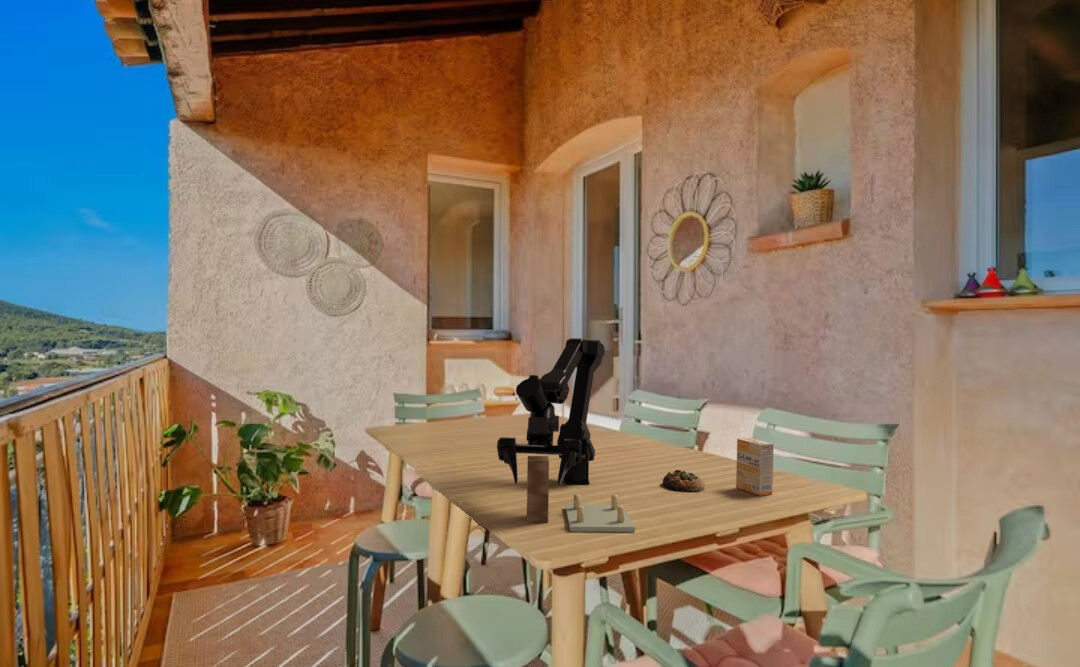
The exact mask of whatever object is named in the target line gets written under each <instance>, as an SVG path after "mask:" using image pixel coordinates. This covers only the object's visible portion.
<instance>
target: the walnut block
mask: <svg viewBox="0 0 1080 667" xmlns="http://www.w3.org/2000/svg"><path fill="white" fill-rule="evenodd" d="M526 479H527V482H526V523H527V524H528V523H530V524H531V523H532V524H533V523H537V524H541V523H542V524H549V490H550V488H549V486H550V485H549V482H550V459H549V455H547V456H546V455H527V476H526Z"/></svg>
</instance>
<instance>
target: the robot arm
mask: <svg viewBox="0 0 1080 667" xmlns="http://www.w3.org/2000/svg"><path fill="white" fill-rule="evenodd" d="M605 351H606V350H605V345H604V344H603V343H602V342H601V341H600V340H599V339H585V338H579V337H576V338H575V337H574V338H568V339H567V340H566V341H565V347H564V348H563V350H562V352H561V354H560V355H559V357H558V359H557V361H556V362H555V364H554V366H553V367H552V368H551V370H550V371H548V372H547V373H544V374H543V375H542V376H541V377H539V376H538V375H537V374H534V375H532V374H529V376H528V378H526V379H523V380H522V381H520V382H519V383H518V384H517V386H516V388H515V392H516V393H515V394H516V395H517V397H518V399H519V400H520V402H521V404H522V406H523V407H524V409H525V410H526V411H527V412H530V414H529V417H528V420H527V429H526V441H527V443H517V441H516V440H517V438H516V437H503V436H502V437H499V439H497V442H496V443H497V444H496V449H497V451H496V452H497V457H498V460H500V461H501V462H502V461H503V463H504V464H506V465H508V466H509V468H510V470H511V473H512V476H513V477H512V478H513V481H514V485H517V484H518V473H519V472H518V459H517V456H518V454H535V455H544V456H546V455H547V456H549V455H551V456H552V455H553V456H558V458H559V459H560V463H559V464H560V465H559V471H558V475H557V476H558V477H557V486H561V484H562V482H563V481H564V484H566V485H590V484H591V483H590V480H589V477H590V474H589V472H590V471H589V470H590V469H589V466H590V463H589V462H593V461H594V460H595V456H596V450H595V447H594V444H593V443H592V441H591V431H590V430H589V428H588V427H589V426H588V425H587V419H588V414H589V408H590V407H589V406H590V400H591V393H592V387H593V379H594V376H595V375H594V373H595V372H596V371H597V369H598V368H599V367H600V366H601V365H602V361H603V357H604V356H605ZM575 370H576V373H575V380H574V384H573V385H574V386H573V390H572V397H571V403H570V407H569V408H570V409H569V414H568V419H567V421H566V422H565V423H562V424H560V416H559V415H556V413H555V410H556V408H555V406H554V404H556V405H557V404H558V405H563V404H564V403H565V402H566V400H567V399H568V398H569V397H568V396H569V394H570V393H569V392H570V387H569V381H570V379H571V377H572V375H573V373H574V372H575ZM555 432H556V433H557V432H558V433H559V434H558V436H557V437H558V438H557V442H556V444H555V445H554V444H553V443H554V433H555Z"/></svg>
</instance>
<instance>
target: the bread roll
mask: <svg viewBox="0 0 1080 667" xmlns="http://www.w3.org/2000/svg"><path fill="white" fill-rule="evenodd" d="M662 484H663V486H664V487H665V488H666V489H667V490H671V491H678V492H690V491H691V492H693V493H694V492H701V491H700V490H702V491H704V490H705V486H706V485H705V484H706V483H705V482H704V479H702V478H701V477H700V476H698V475H696V474H694V473H692V472H687V471H686V470H681V469H676V470H674V471H673V472H671V471H669V472H668V473H666V475H665V476H664V477H663V478H662ZM703 489H704V490H703Z"/></svg>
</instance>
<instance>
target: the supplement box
mask: <svg viewBox="0 0 1080 667" xmlns="http://www.w3.org/2000/svg"><path fill="white" fill-rule="evenodd" d="M774 445H775V444H774V443H772V442H767V441H764V440H760V439H756V438H752V437H740V438H739V437H738V438H737V441H736V473H735V474H736V477H735V478H736V479H735V488H736V489H739V490H742V491H745V492H747V493H751V494H754V495H756V496H759V497H762V496H761V495H765V496H770V495H769V494H771V495H773V491H774V490H773V483H774V482H773V481H774V450H775V449H774V447H775V446H774Z"/></svg>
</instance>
